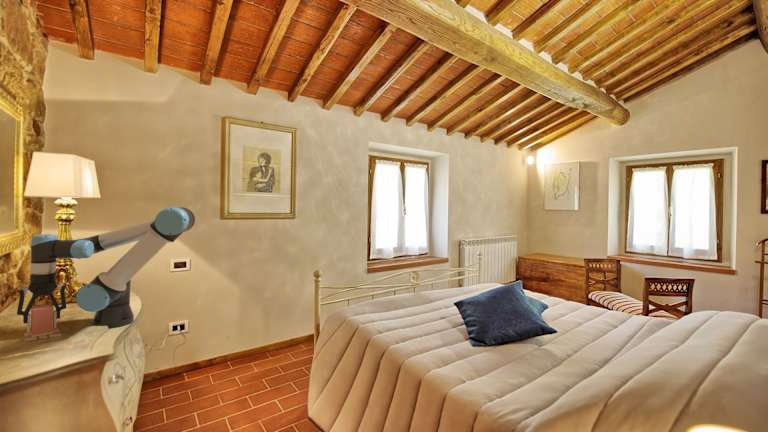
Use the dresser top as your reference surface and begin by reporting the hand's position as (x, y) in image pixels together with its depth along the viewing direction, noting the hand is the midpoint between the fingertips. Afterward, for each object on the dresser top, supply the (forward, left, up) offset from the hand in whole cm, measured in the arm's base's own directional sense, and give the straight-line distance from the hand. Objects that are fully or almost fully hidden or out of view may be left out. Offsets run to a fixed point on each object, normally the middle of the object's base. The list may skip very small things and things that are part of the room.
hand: (41, 328), depth 140 cm
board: (-1, +4, -3) cm, 5 cm away
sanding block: (0, 0, -2) cm, 2 cm away
